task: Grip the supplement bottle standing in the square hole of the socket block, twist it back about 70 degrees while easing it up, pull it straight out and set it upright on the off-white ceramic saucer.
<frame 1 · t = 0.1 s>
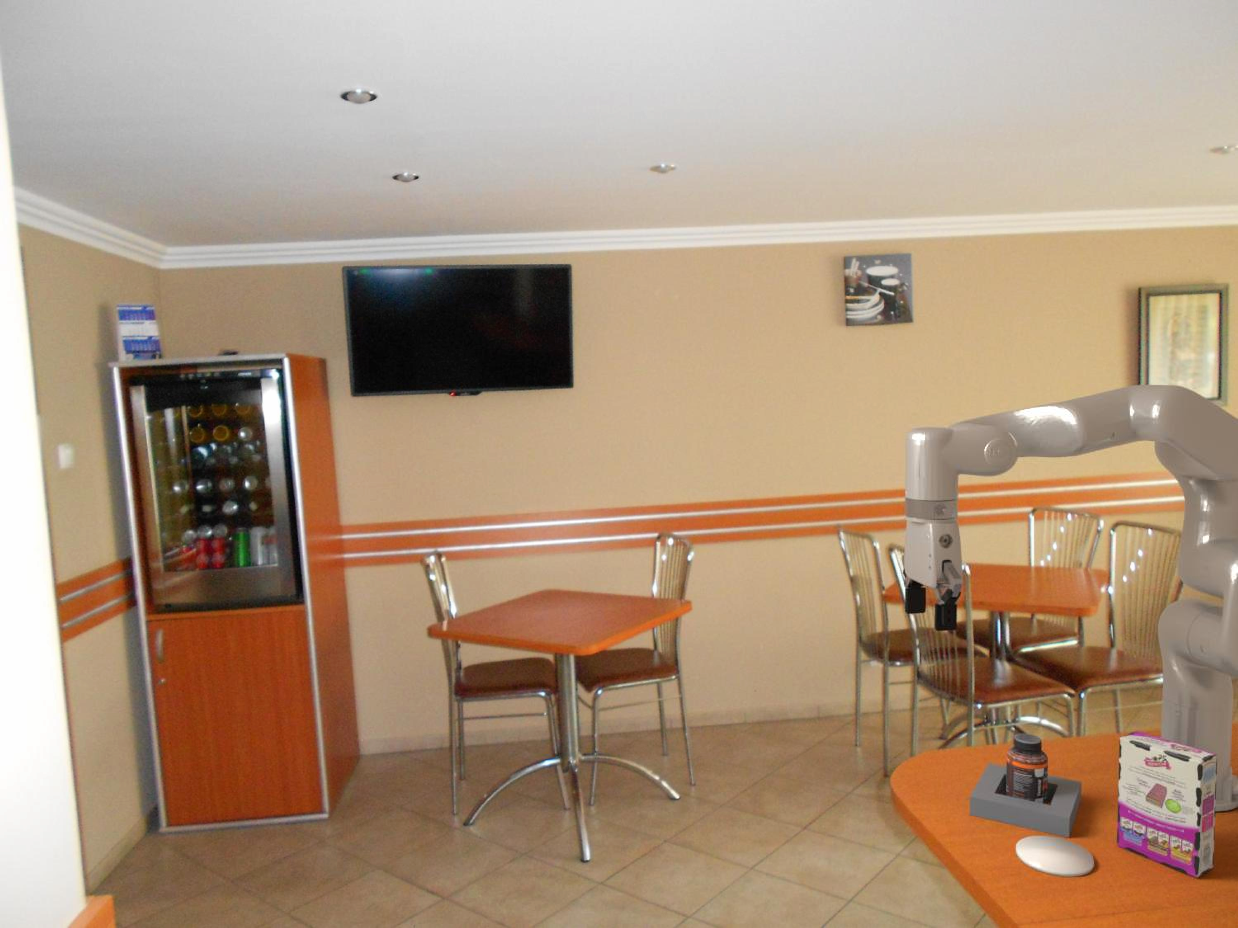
hand: (929, 621, 140), 31 cm above the table, tool pointing down, fingers open, 9 cm apart
supplement bottle: (1026, 808, 145), resting in socket block
socket block: (1026, 806, 145), on the table
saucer: (1054, 857, 130), on the table
candy bar box: (1163, 857, 130), on the table
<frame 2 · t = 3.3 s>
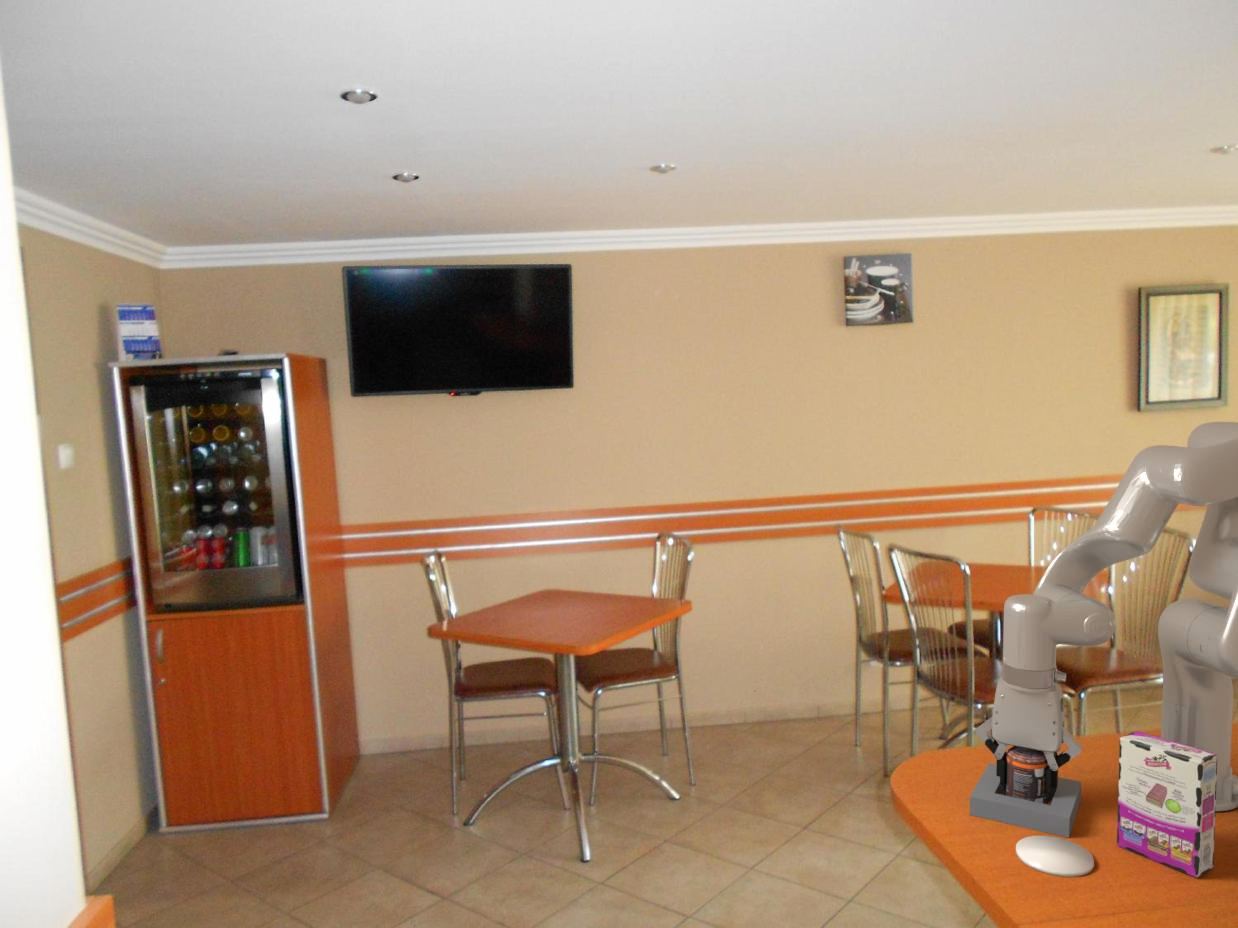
hand: (1026, 785, 145), 4 cm above the table, tool pointing down, fingers closed on supplement bottle, 6 cm apart
supplement bottle: (1026, 808, 145), resting in socket block, touching gripper
everything else where it was.
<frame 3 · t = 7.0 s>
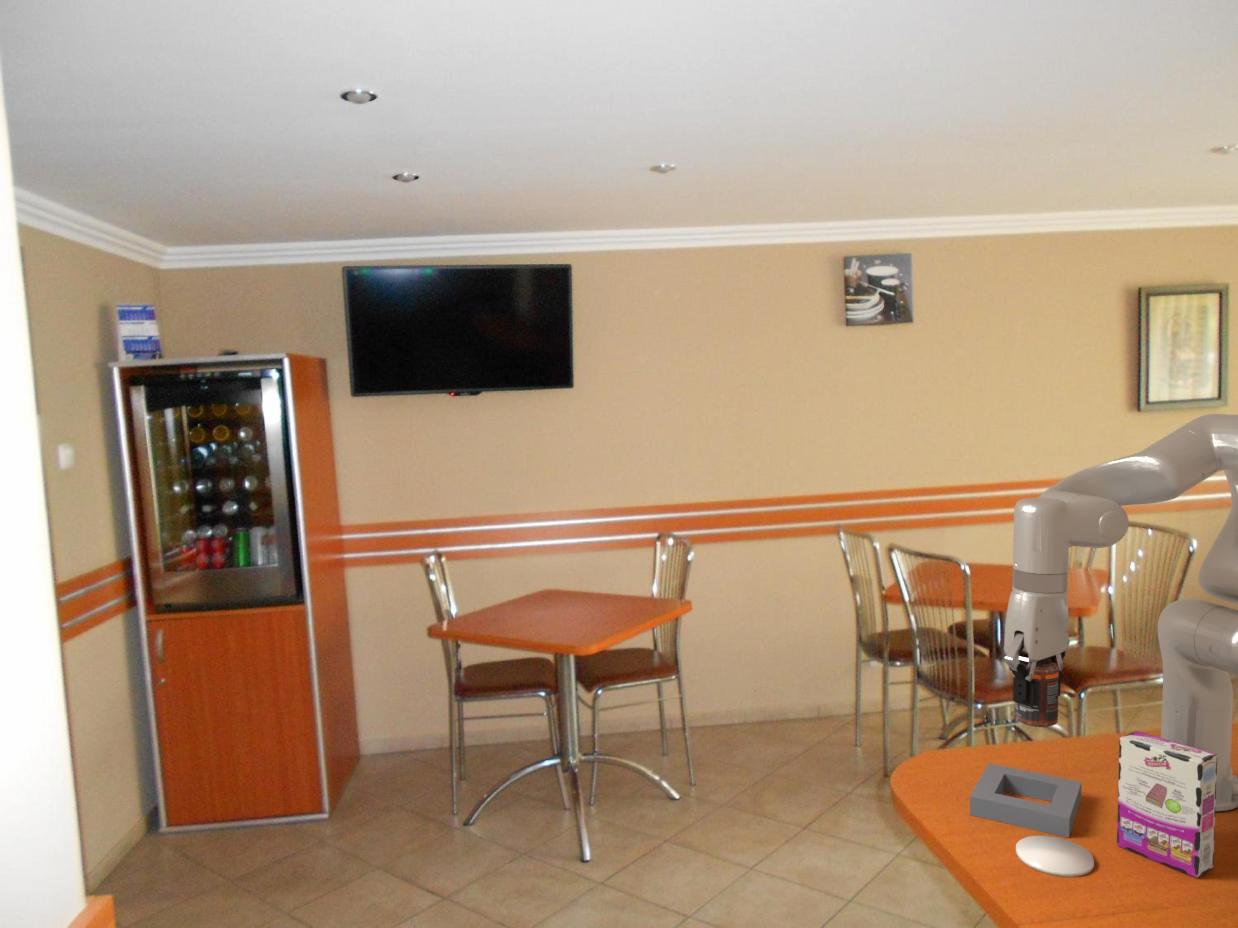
hand: (1036, 698, 138), 20 cm above the table, tool pointing down, fingers closed on supplement bottle, 6 cm apart
supplement bottle: (1035, 722, 139), point 16 cm above the table, touching gripper
everything else where it was.
when the fingers open (5 cm above the table, at t = 10.7 s): supplement bottle drops 1 cm, resting on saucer.
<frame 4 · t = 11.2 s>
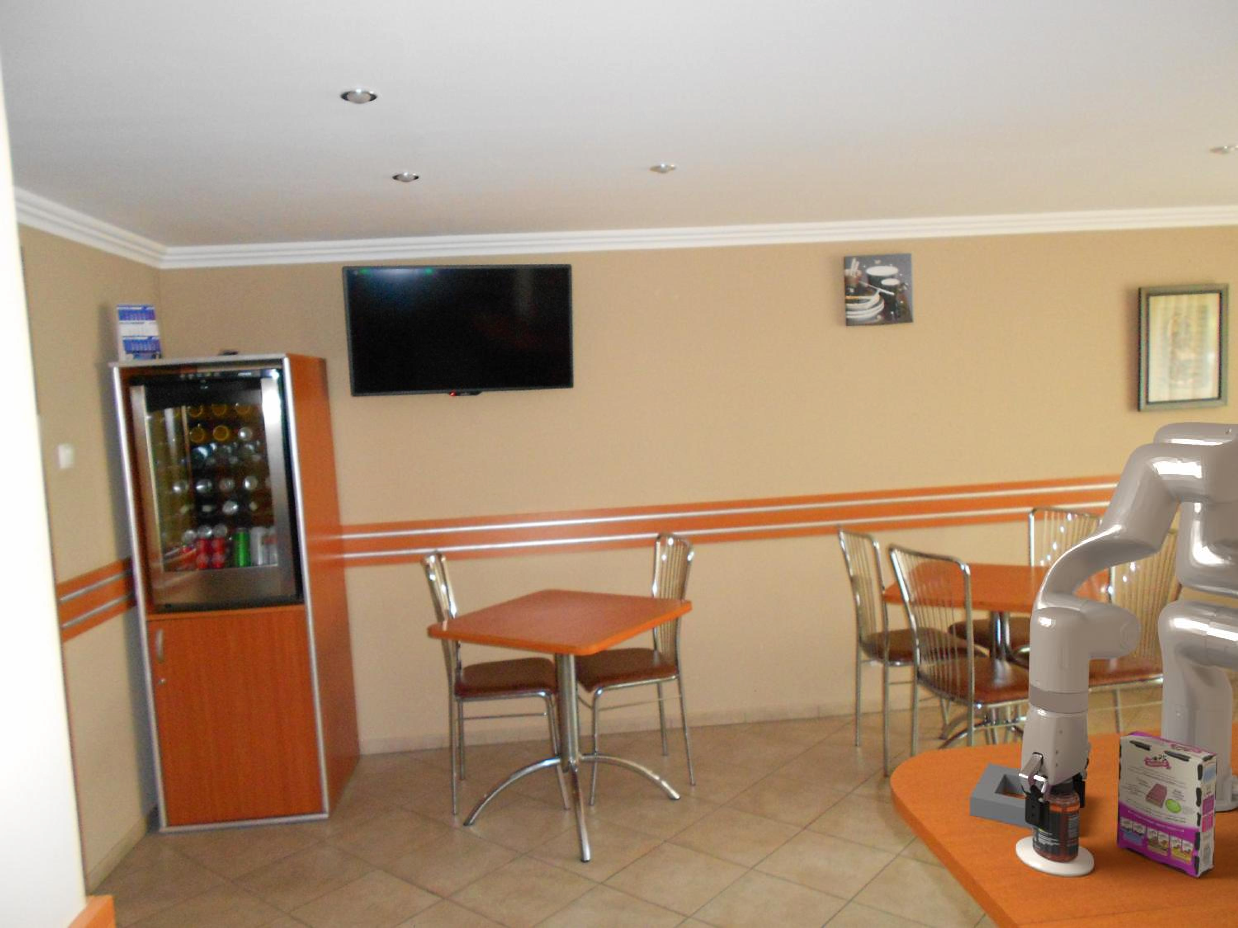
hand: (1055, 814, 130), 6 cm above the table, tool pointing down, fingers open, 9 cm apart
supplement bottle: (1054, 853, 130), resting on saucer
everything else where it was.
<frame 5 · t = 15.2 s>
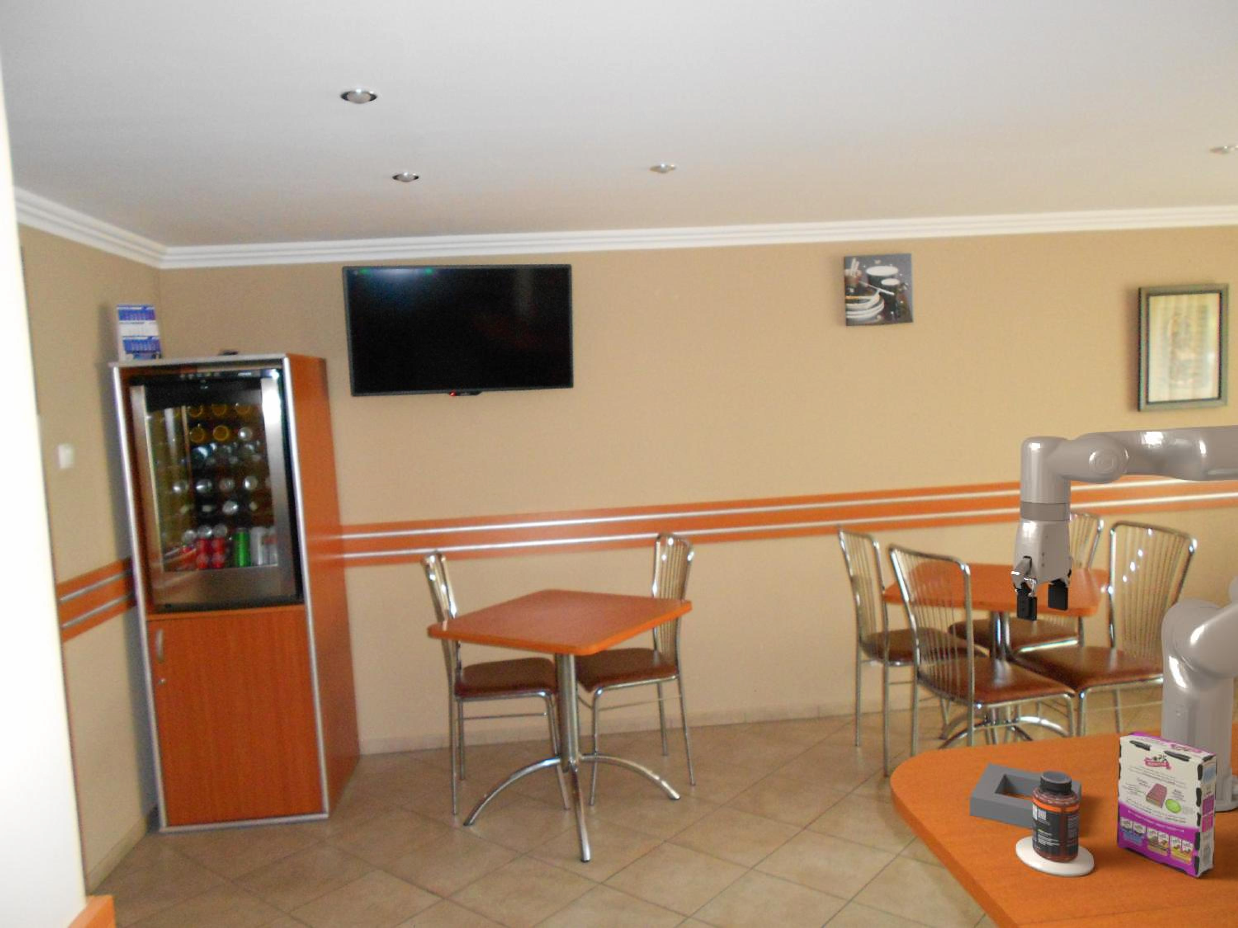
hand: (1042, 614, 152), 28 cm above the table, tool pointing down, fingers open, 9 cm apart
nothing on the table moved.
at the end: supplement bottle inside the target area on the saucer (0.2 cm from its centre), point 0.4 cm above the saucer's base; supplement bottle tilted 0°; the gripper is holding nothing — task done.
